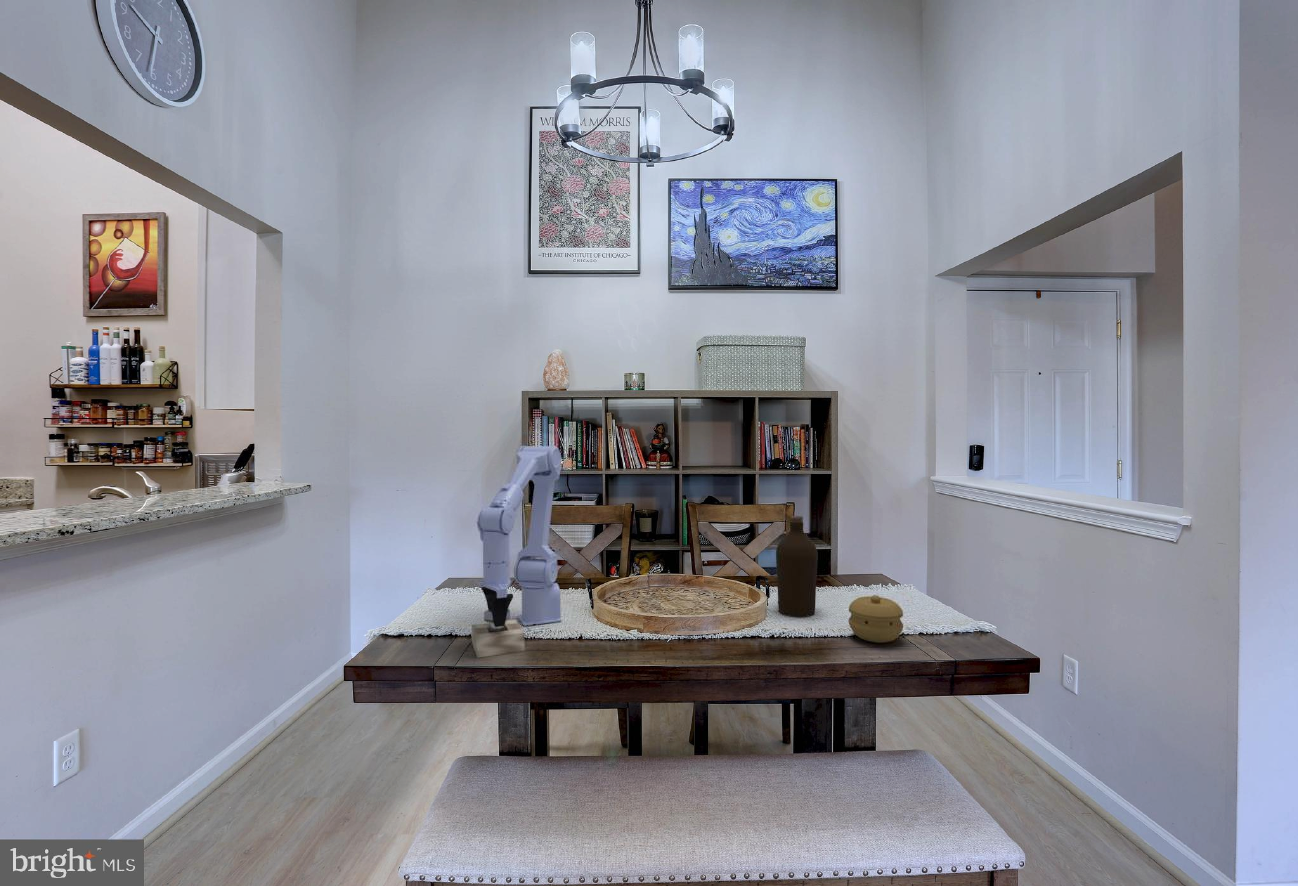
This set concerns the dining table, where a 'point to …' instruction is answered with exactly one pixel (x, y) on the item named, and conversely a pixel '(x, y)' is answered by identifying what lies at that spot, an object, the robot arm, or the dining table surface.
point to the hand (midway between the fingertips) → (497, 621)
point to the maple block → (497, 639)
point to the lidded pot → (875, 619)
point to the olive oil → (796, 572)
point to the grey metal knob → (489, 618)
